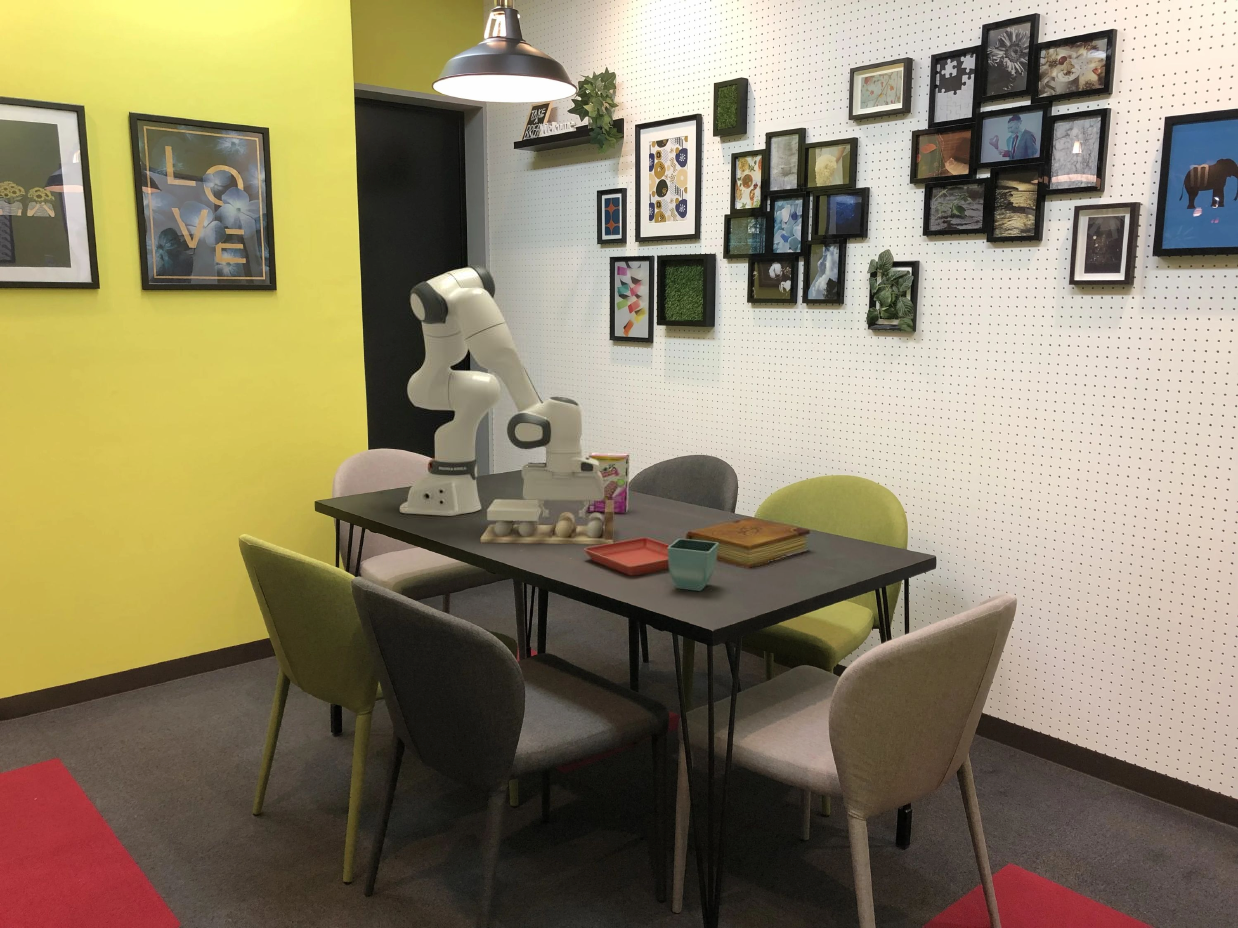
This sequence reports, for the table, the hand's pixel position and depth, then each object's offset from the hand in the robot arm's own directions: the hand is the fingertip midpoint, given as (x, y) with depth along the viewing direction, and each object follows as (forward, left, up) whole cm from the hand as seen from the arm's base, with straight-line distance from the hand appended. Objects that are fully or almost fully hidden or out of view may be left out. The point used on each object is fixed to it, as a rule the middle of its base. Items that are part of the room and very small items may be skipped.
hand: (563, 517), depth 232 cm
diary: (+44, -12, -5) cm, 46 cm away
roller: (0, 0, -4) cm, 4 cm away
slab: (-12, 0, +1) cm, 12 cm away
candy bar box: (+10, +30, -5) cm, 32 cm away
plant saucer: (+18, -24, -5) cm, 31 cm away
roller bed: (-4, 0, -5) cm, 6 cm away
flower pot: (+29, -42, -5) cm, 52 cm away
